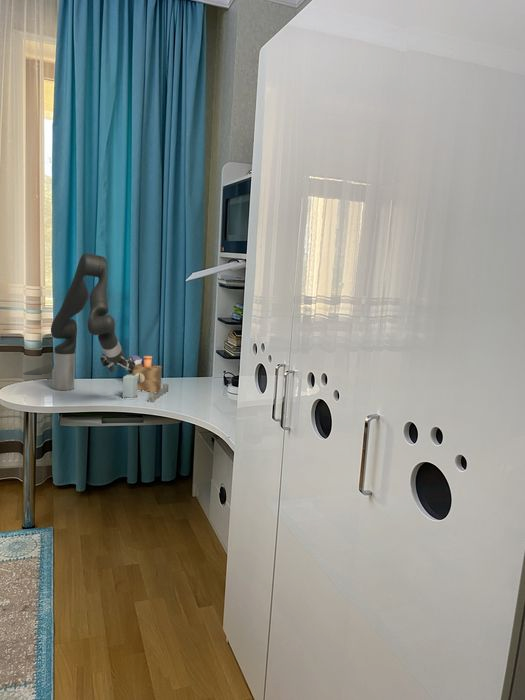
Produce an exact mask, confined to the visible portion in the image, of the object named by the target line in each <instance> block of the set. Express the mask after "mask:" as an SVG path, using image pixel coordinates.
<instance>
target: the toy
mask: <svg viewBox="0 0 525 700" xmlns="http://www.w3.org/2000/svg"><path fill="white" fill-rule="evenodd" d="M129 357H132V358H133V360H134V362H135V364H136V365H137V364H144V358H141V356H139V355H137V354H134V355H130V356H129ZM124 364H125V363H124ZM127 366H129V365H128V364H127ZM124 369H125V371H128V369H127V368H124ZM128 372H129V371H128ZM127 375H133V372H132V374H129V373H128V374H127Z"/></svg>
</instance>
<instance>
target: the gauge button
mask: <svg viewBox="0 0 525 700" xmlns="http://www.w3.org/2000/svg"><path fill="white" fill-rule="evenodd" d="M143 361H144V367H150V368H151V365H152V361H153V356H152V355H144V356H143Z"/></svg>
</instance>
